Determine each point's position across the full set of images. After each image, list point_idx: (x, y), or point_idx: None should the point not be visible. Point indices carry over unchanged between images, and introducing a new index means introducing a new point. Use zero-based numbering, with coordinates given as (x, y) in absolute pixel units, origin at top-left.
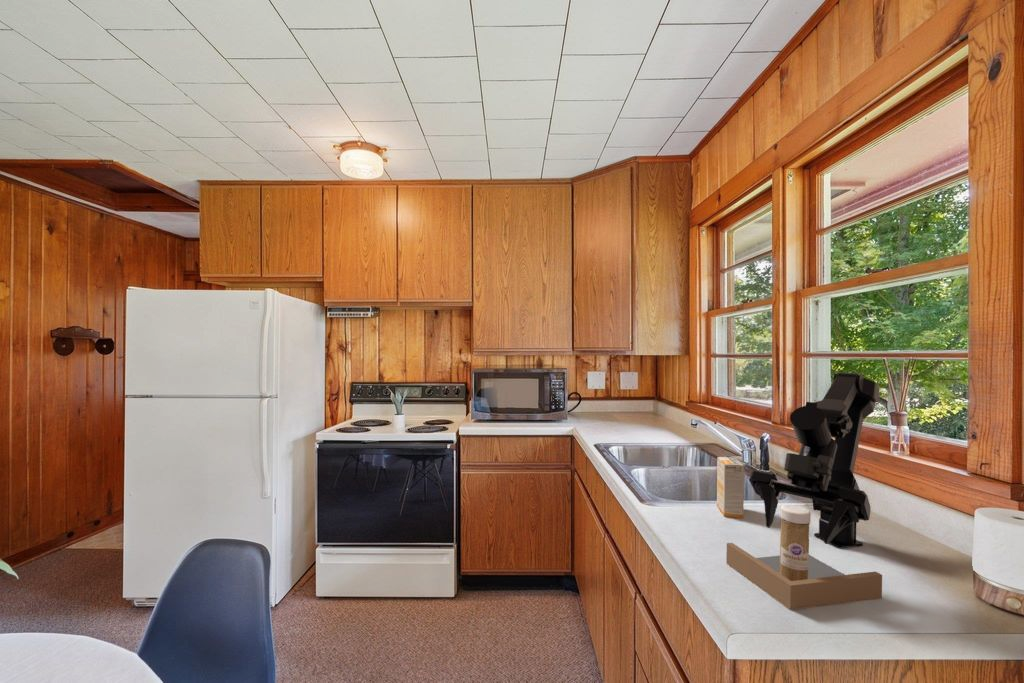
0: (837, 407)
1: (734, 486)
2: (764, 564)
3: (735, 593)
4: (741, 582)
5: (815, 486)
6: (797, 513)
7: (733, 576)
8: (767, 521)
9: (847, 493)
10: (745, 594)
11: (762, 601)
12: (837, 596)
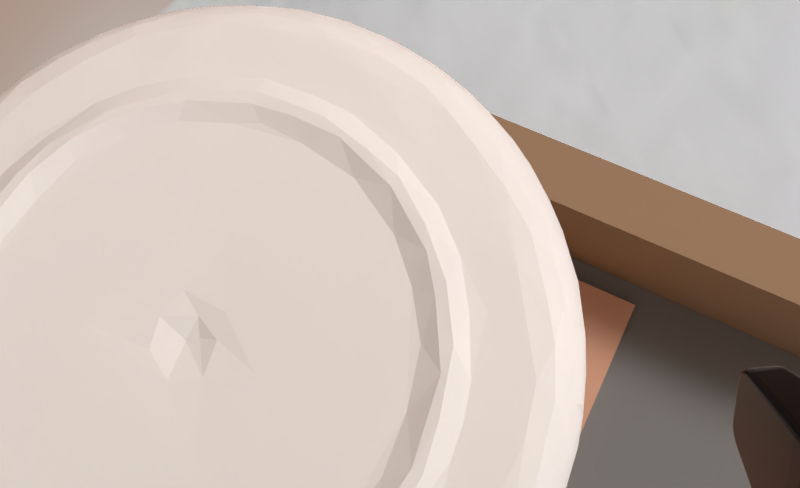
0: None
1: None
2: (560, 194)
3: (607, 17)
4: (668, 174)
5: None
6: (56, 58)
7: (753, 208)
8: (793, 388)
9: None
10: (564, 55)
11: (459, 64)
12: None
